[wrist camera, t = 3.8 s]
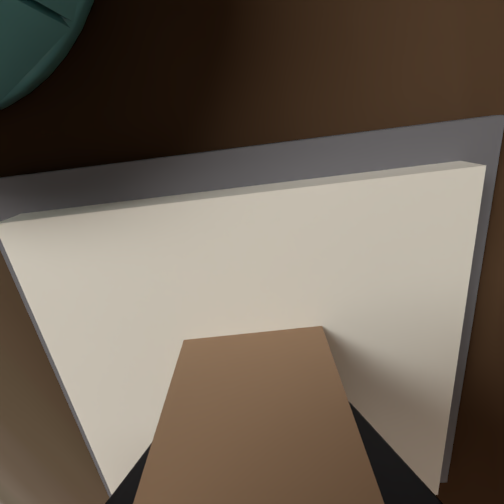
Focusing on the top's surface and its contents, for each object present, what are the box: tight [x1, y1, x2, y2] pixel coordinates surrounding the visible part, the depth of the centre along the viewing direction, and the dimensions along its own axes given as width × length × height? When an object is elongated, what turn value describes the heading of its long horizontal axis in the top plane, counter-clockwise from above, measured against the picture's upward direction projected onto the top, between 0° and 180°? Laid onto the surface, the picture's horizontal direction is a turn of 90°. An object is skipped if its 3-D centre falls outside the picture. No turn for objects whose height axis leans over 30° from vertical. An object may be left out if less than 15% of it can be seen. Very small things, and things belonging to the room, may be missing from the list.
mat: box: [0, 115, 504, 497], centre depth 11 cm, size 14×14×1 cm
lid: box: [0, 161, 486, 504], centre depth 8 cm, size 12×12×6 cm
